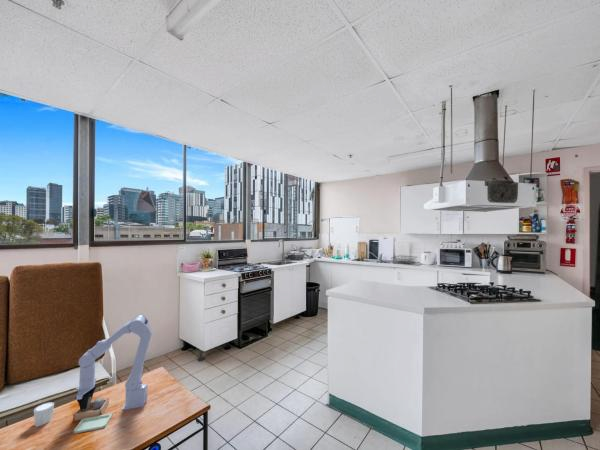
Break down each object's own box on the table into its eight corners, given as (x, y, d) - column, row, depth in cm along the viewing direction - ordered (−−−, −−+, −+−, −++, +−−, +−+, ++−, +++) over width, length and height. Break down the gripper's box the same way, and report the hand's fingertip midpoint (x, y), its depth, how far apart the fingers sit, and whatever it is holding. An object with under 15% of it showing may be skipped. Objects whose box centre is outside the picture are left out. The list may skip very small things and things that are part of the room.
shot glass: (40, 428, 114) (41, 412, 114) (28, 426, 115) (29, 410, 115) (57, 418, 120) (58, 402, 121) (46, 415, 122) (47, 400, 122)
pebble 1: (92, 405, 126) (93, 395, 126) (88, 411, 122) (88, 400, 122) (83, 407, 125) (83, 396, 125) (78, 412, 121) (78, 401, 121)
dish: (108, 405, 130) (108, 398, 130) (100, 416, 121) (101, 410, 121) (82, 409, 126) (82, 402, 127) (72, 421, 118) (73, 414, 118)
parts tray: (112, 415, 122) (112, 413, 122) (104, 428, 114) (105, 425, 114) (82, 421, 118) (82, 418, 118) (72, 434, 110) (72, 431, 110)
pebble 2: (104, 407, 127) (105, 397, 127) (99, 413, 123) (100, 402, 123) (96, 408, 126) (96, 398, 127) (90, 413, 122) (91, 403, 123)
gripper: (84, 371, 130) (83, 398, 129) (68, 387, 116) (67, 417, 115) (101, 369, 132) (99, 395, 131) (87, 384, 118) (85, 414, 117)
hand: (85, 405), depth 123 cm, fingers closed on pebble 1, 4 cm apart
